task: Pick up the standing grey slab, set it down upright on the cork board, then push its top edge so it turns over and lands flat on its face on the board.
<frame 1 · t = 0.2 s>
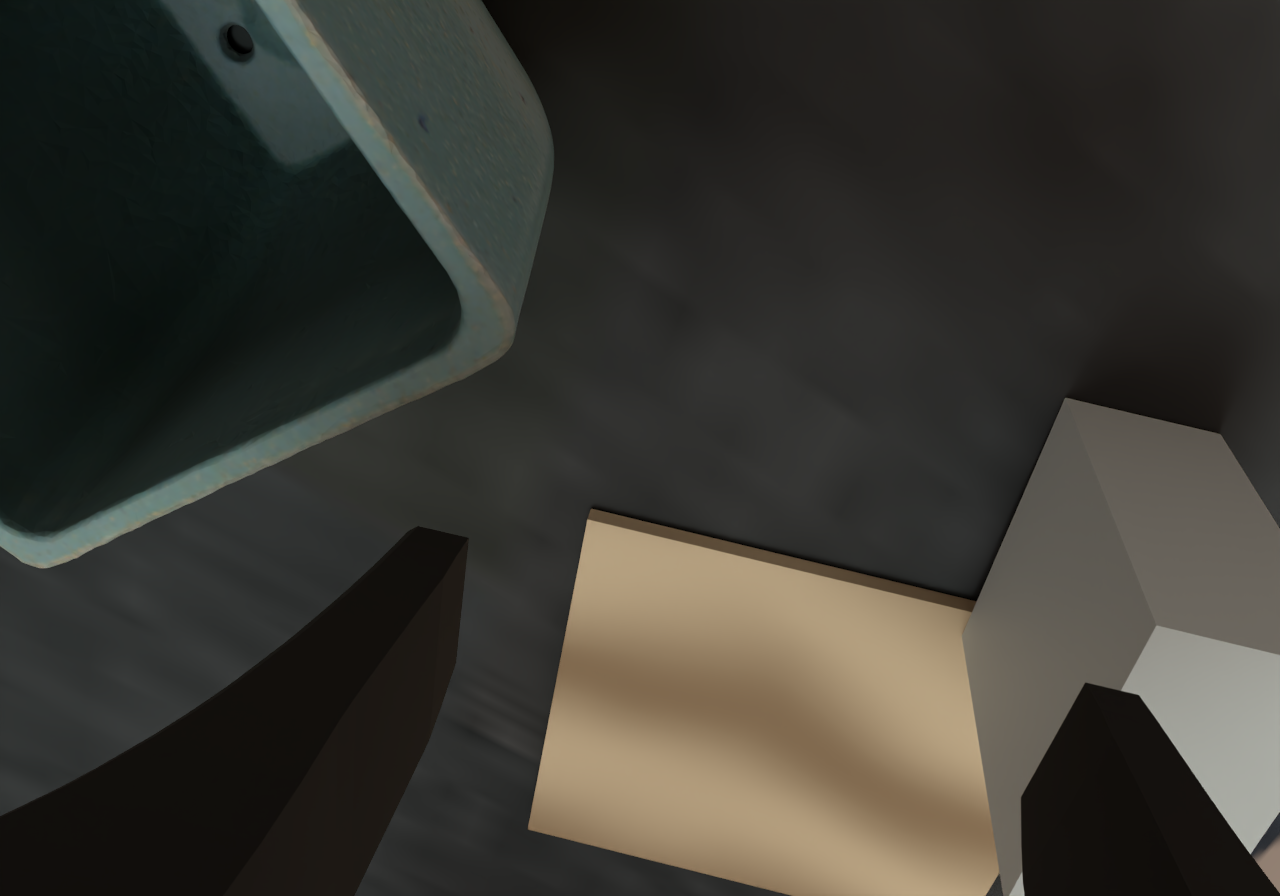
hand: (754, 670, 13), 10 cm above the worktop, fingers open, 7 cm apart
board: (794, 738, 28), on the worktop
slab: (1082, 541, 23), on the worktop, touching board
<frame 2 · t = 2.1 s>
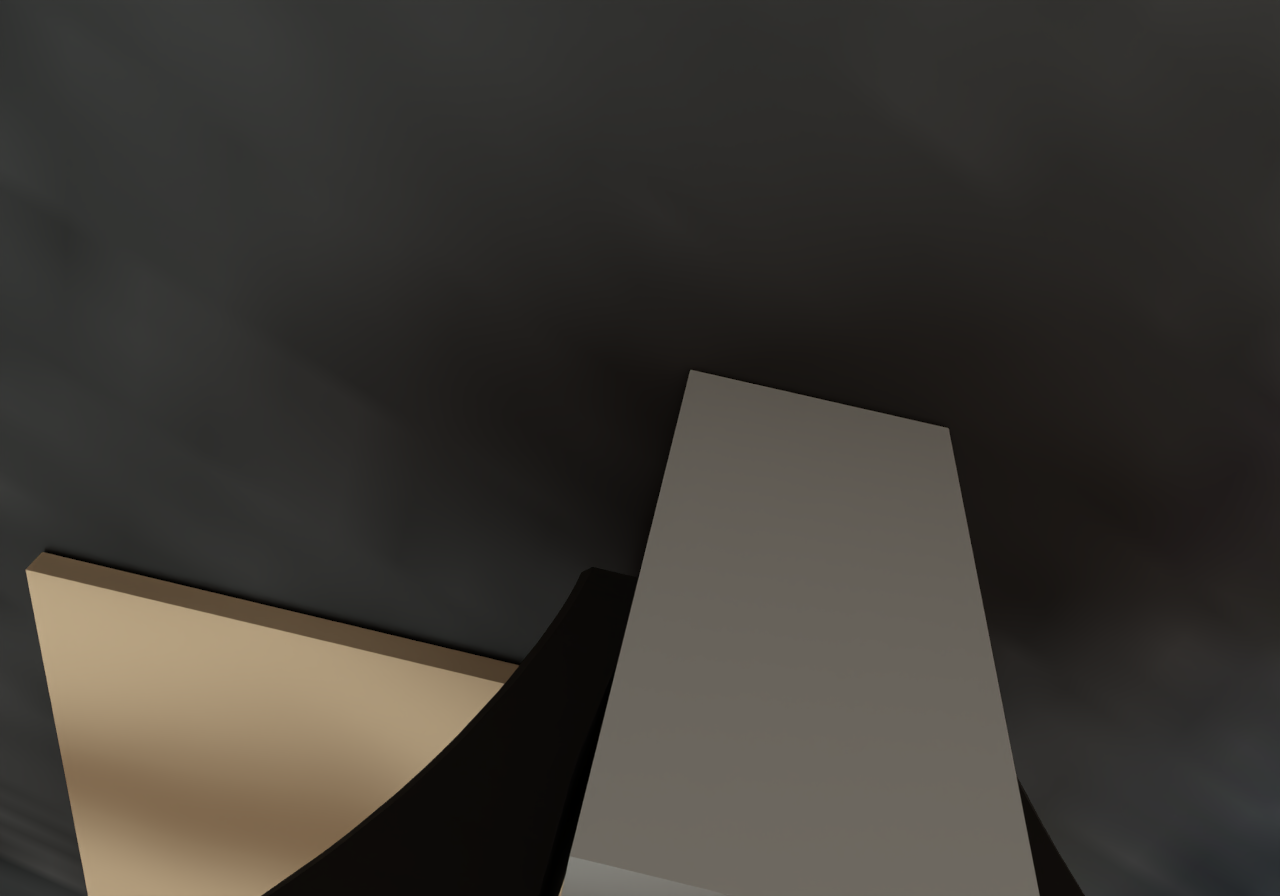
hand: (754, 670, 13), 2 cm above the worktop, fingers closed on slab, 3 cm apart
board: (425, 877, 19), on the worktop
slab: (758, 603, 14), on the worktop, touching board, gripper
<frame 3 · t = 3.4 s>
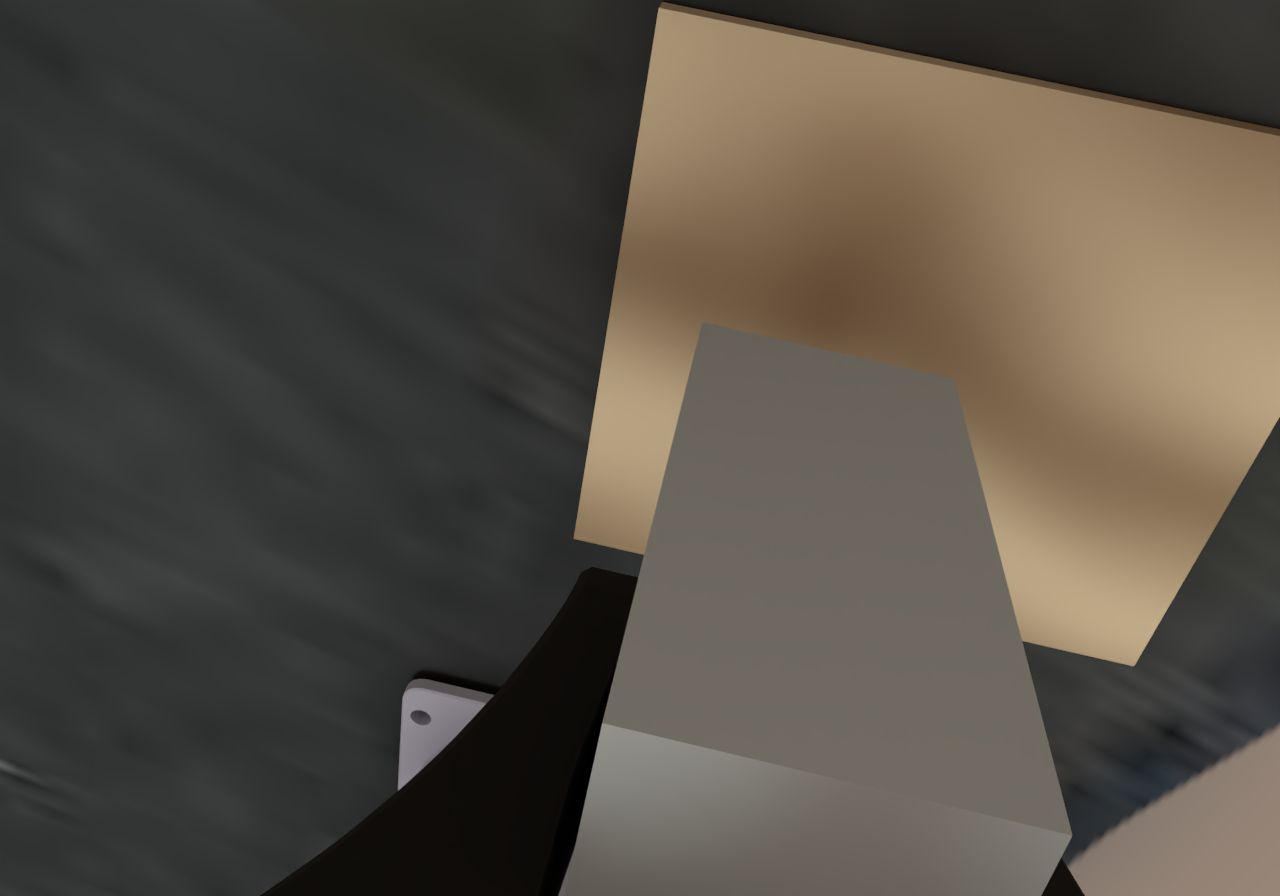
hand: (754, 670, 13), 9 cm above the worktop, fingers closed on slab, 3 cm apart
board: (928, 372, 21), on the worktop
slab: (767, 559, 15), point 7 cm above the worktop, tilted 7°, touching gripper
when the fingers open (3 cm above the worktop, at t = 5.0 s): slab stays where it is, resting on board.
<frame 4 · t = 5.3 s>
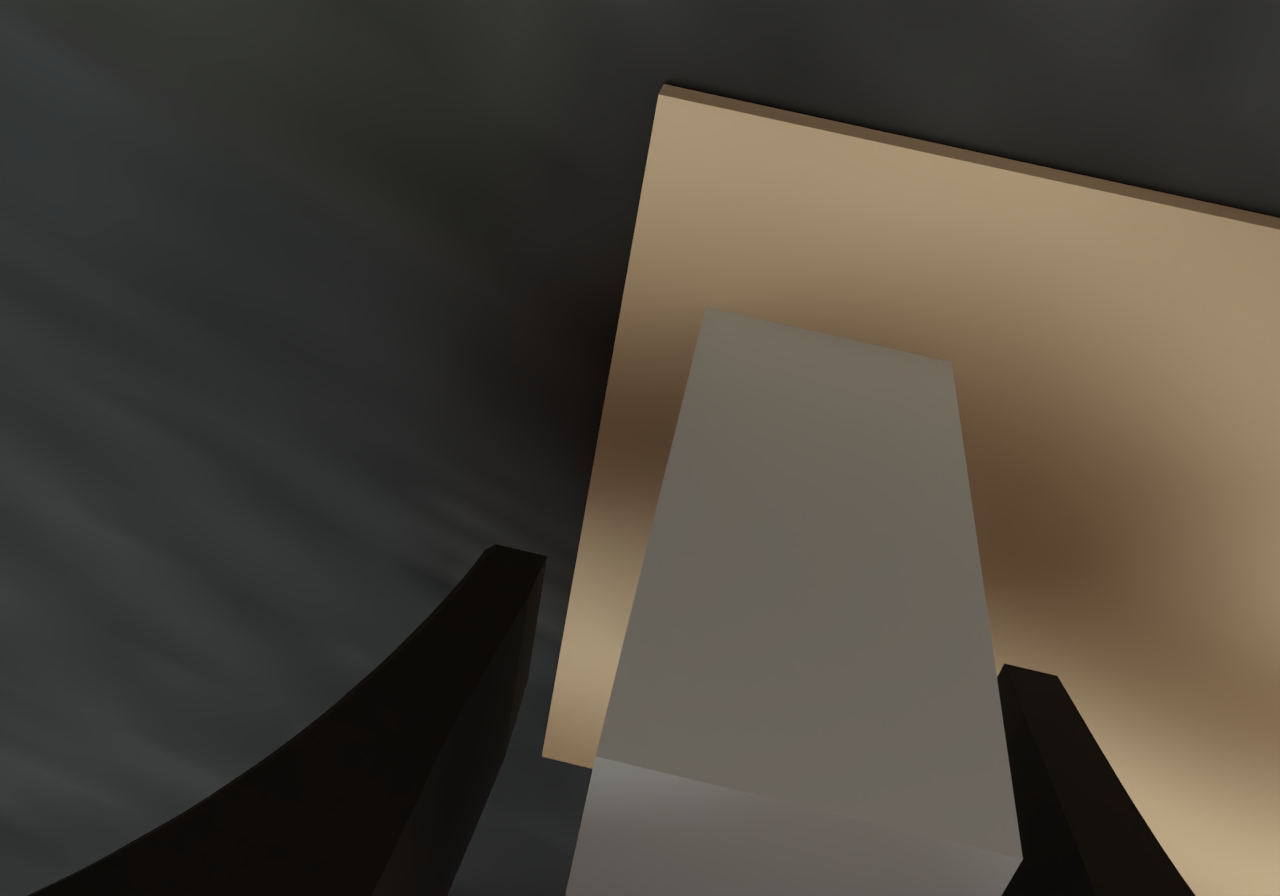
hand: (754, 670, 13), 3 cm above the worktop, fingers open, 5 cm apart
board: (1020, 574, 16), on the worktop
slab: (770, 526, 15), resting on board
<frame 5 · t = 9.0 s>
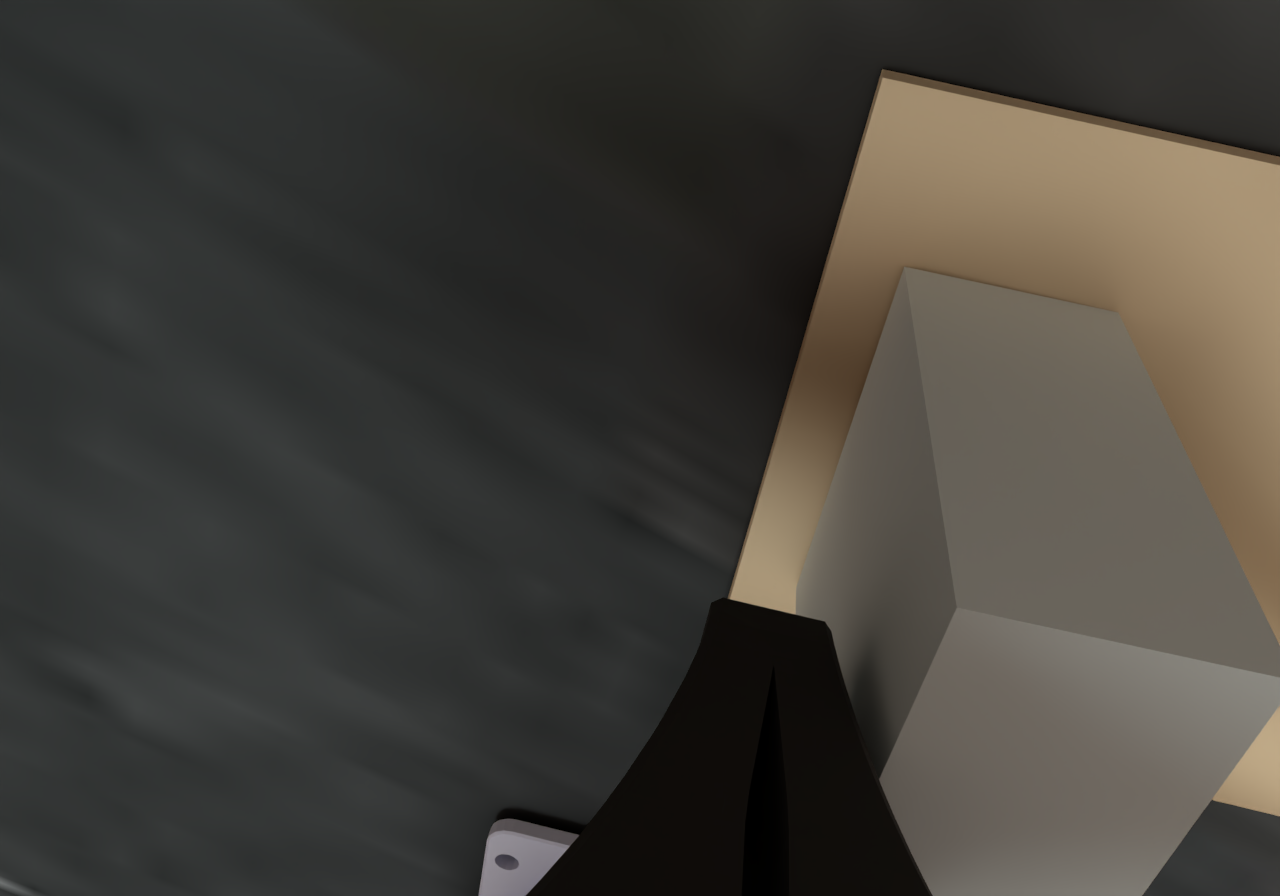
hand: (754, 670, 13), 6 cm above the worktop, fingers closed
board: (1158, 505, 18), on the worktop
slab: (941, 463, 17), resting on board, touching gripper
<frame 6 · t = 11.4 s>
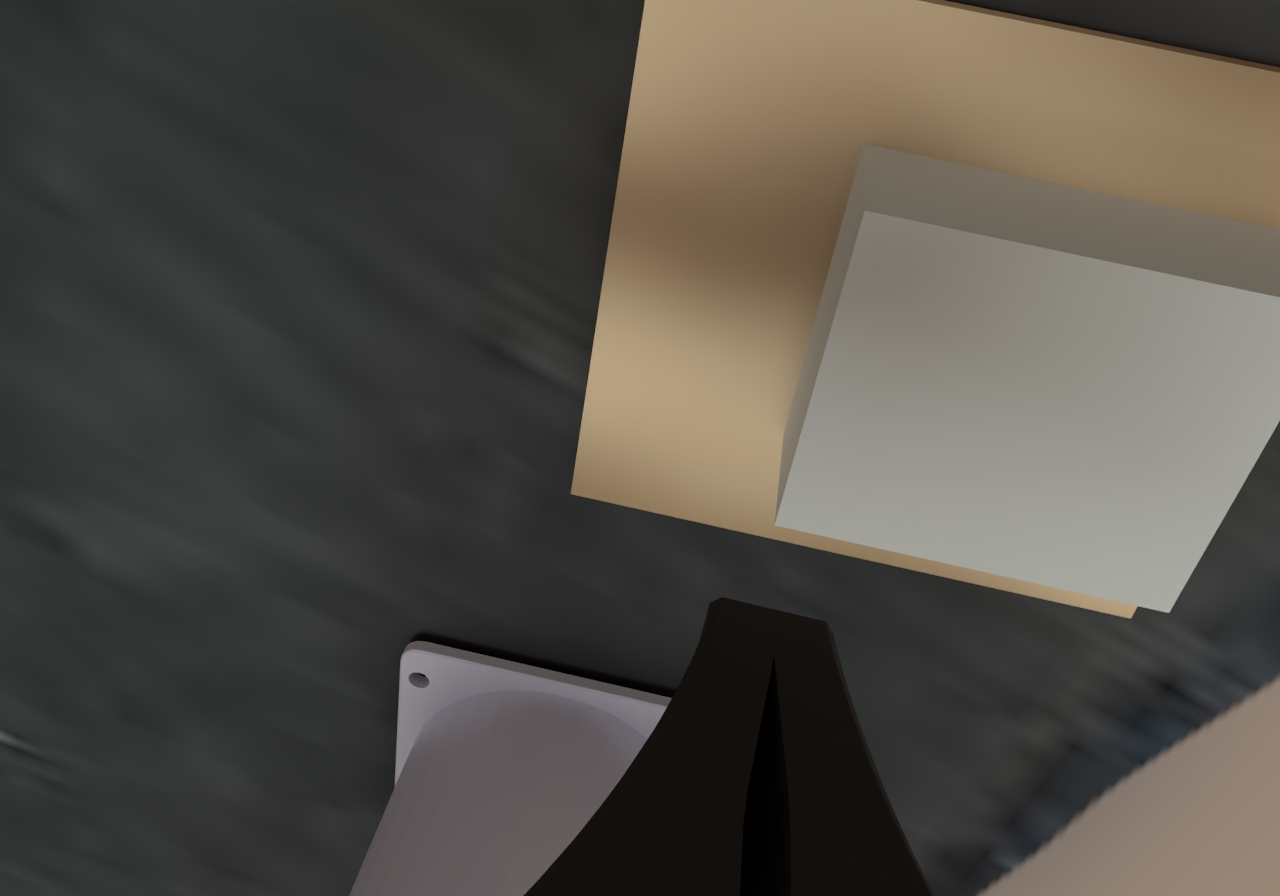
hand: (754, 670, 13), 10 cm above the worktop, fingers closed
board: (923, 319, 21), on the worktop
slab: (818, 339, 20), point 2 cm above the worktop, tilted 90°, touching board
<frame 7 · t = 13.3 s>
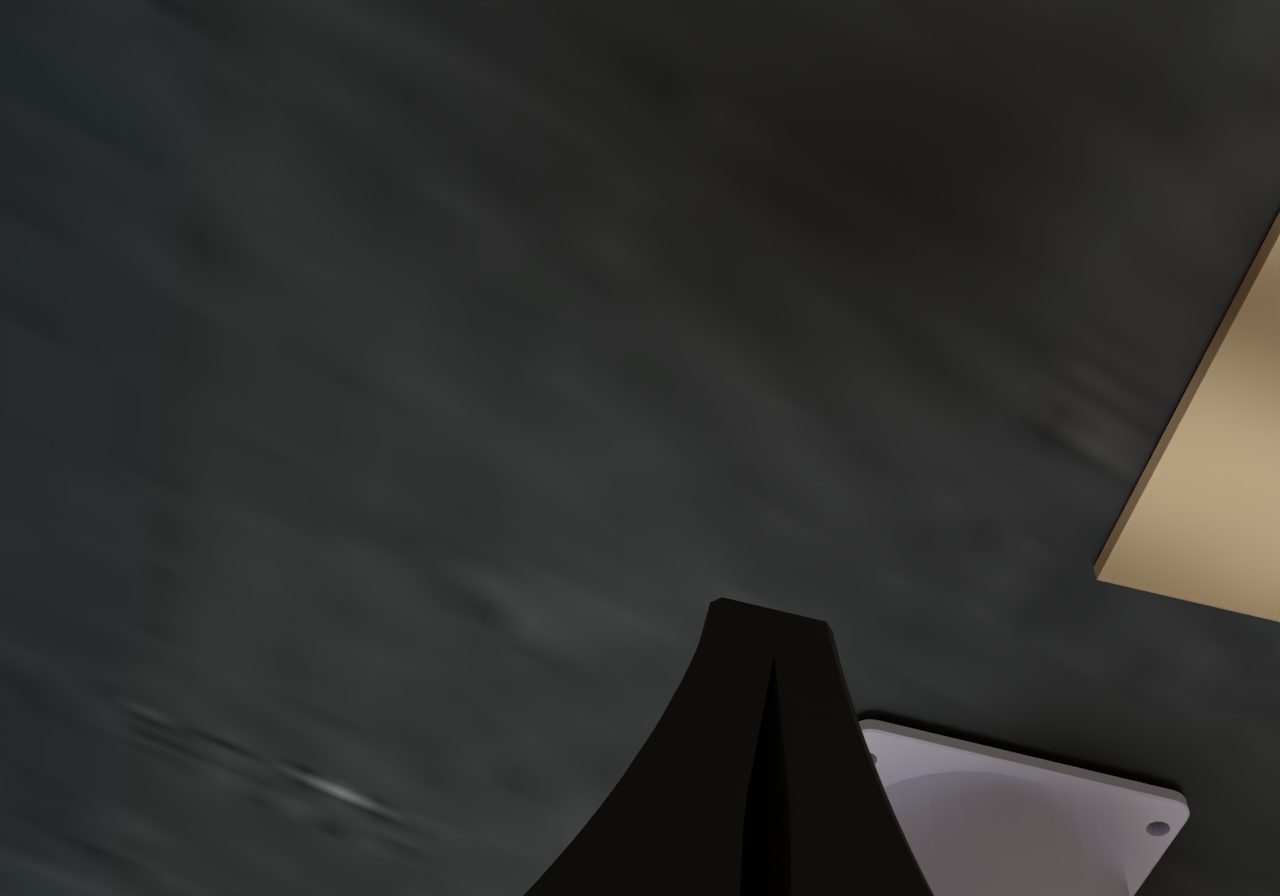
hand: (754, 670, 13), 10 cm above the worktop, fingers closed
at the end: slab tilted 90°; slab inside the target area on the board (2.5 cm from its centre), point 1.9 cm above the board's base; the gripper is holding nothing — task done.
